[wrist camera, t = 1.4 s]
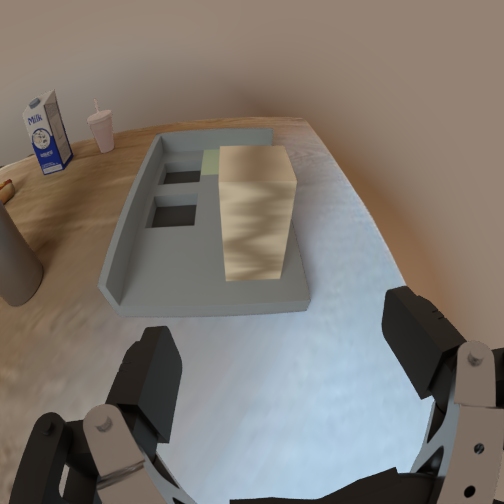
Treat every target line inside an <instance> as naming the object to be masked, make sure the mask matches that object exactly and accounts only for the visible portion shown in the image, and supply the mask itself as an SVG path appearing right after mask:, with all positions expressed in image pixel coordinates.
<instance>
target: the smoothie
mask: <svg viewBox="0 0 504 504" xmlns="http://www.w3.org/2000/svg"><path fill="white" fill-rule="evenodd" d="M94 101H95V106H96V110H97V113H95V114H93V115H91V116H90V117H88V119H87V123H88V124H89V125H90V128H91V130H92V132H93V135H94V137H95V140H96V142H97V144H98V146H99V149H100V151H101V153H106V152H109V151H111V150H113V149H114V139H113V130H112V119H111V116H112V111H111V110H104V111H100V112H99V109H98V104H97V100H96V98H94Z"/></svg>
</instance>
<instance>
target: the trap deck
mask: <svg viewBox="0 0 504 504" xmlns="http://www.w3.org/2000/svg"><path fill="white" fill-rule="evenodd" d="M272 138H273V128H221V129H202V130H189V131H177V132H168V133H159V134H156V136H155V138H154V140H153V142H152V144H151V146H150V148H149V150H148V152H147V154H146V156H145V158H144V160H143V163H142V165H141V167H140V169H139V171H138V174H137V176H136V178H135V180H134V183H133V185H132V187H131V190H130V192H129V194H128V197H127V199H126V202H125V204H124V207H123V209H122V212H121V215H120V217H119V220H118V223H117V225H116V228H115V231H114V234H113V237H112V240H111V243H110V246H109V249H108V252H107V255H106V258H105V261H104V265H103V268H102V271H101V275H100V278H99V282H98V288H99V289H100V291H101V292H102V293H103V295H104V296H105V298H106V299H107V300H108V302H109V303H110V304H111V306H112V307H113V308H114V310H115V311H116V312H117V314H118V315H119V316H125V317H209V316H237V315H256V314H273V313H287V312H299V311H306V310H307V308H308V305H309V303H310V300H311V299H310V294H309V290H308V285H307V281H306V277H305V272H304V268H303V264H302V260H301V255H300V251H299V247H298V243H297V239H296V235H295V231H294V227H293V223H292V219H291V221H290V227H289V233H288V238H287V244H286V250H285V255H284V260H283V266H282V271H281V276H280V279H264V280H243V281H226V276H225V265H224V253H223V240H222V227H221V213H220V198H219V157H220V146H250V145H272Z"/></svg>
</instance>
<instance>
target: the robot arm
mask: <svg viewBox="0 0 504 504" xmlns="http://www.w3.org/2000/svg"><path fill="white" fill-rule="evenodd" d="M42 275H43V268H42V265H41V262H40V261H39V260H38V258H37V257H36V256H35V254H34V253H33V251H32V250H31V248H30V247H29V245H28V244H27V242H26V241H25V239H24V238H23V236H22V235H21V233H20V232H19V230H18V229H17V227H16V225H15V224H14V222H13V220H12V219H11V217H10V215H9V214H8V212H7V210H6V209H5V207H4V205H3V203H2V201H1V199H0V296H1V297H2V298H3V299H4V300H5V301H6V302H7V303H8V304H9V305H11V306H19V305H21V304H23V303H25V302H26V301H28V300H29V299H30V298H31V297H32V296H33V294H34V293H35V292H36V290H37V288H38V286H39V284H40V282H41V279H42ZM382 332H383V336H384V338H385V340H386V341H387V343H388V344H389V346H390V348H391V349H392V351H393V352H394V354H395V356H396V357H397V359H398V361H399V362H400V364H401V366H402V367H403V369H404V371H405V372H406V374H407V376H408V378H409V379H410V381H411V383H412V384H413V386H414V388H415V390H416V391H417V393H418V395H419V397H420V399H421V400H422V399H424V398H427V397H429V396H431V395H432V396H433V398H434V399H435V400H434V402H433V404H432V408H431V412H430V417H429V421H428V425H427V429H426V433H425V437H424V440H423V444H422V447H421V450H420V452H419V454H418V456H417V457H416V459H415V461H414V463H413V466H412V468H411V470H410V473H398V472H397V469H396V467H394V468H391V469H388V470H386V471H383V472H380V473H377V474H375V475H372V476H369V477H365V478H362V479H359V480H357V481H355V482H353V483H351V484H349V485H347V486H345V487H343V488H341V489H339V490H337V491H335V492H333V493H331V494H329V495H327V496H324V497H322V498H319V499H313V500H312V499H288V498H275V497H268V498H256V499H235V500H230V504H504V502H502V501H498V500H495V499H494V495H495V491H496V487H497V482H498V477H499V471H500V466H501V459H502V452H503V450H504V348H499V349H494V350H490V348H489V347H488V346H487V345H485V344H483V343H481V342H478V341H468V342H467V341H466V340H465V339H464V337H463V336H462V335H461V334H460V333H459V332H458V331H457V329H456V328H455V327H454V326H453V325H452V324H451V323H450V322H449V321H448V320H447V318H444V315H443V314H442V313H441V312H440V311H438V309H437V308H436V307H435V306H434V305H433V304H432V303H431V302H430V301H429V300H427V299H425V298H423V297H421V296H416V295H415V294H414V293H413V292H412V291H411V289H409V287H407V286H402V287H398V288H394V289H390V290H387V292H386V295H385V302H384V310H383V317H382ZM181 374H182V360H181V357H180V354H179V352H178V349H177V347H176V345H175V342H174V340H173V338H172V335H171V333H170V330H169V328H168V327H167V326H157V327H147V328H146V329H145V330H144V333H143V335H142V337H141V340H140V341H136V342H135V343H134V344H133V345H132V346H131V347H130V348H129V349H128V350H127V352H126V354H125V356H124V358H123V361H122V364H121V365H120V368H119V372H117V375H116V377H115V380H114V382H113V385H112V387H111V390H110V392H109V395H108V397H107V400H106V402H105V404H102V405H99V406H96V407H94V408H93V409H91V410H90V411H89V412H88V413H87V415H86V416H85V418H84V420H78V421H71V422H65V421H64V420H63V419H62V417H61V416H60V415H58V414H57V413H54V412H49V413H46V414H44V415H42V416H41V417H40V418H39V419H38V420H37V421H36V423H35V425H34V427H33V430H32V432H31V435H30V437H29V440H28V442H27V445H26V448H25V450H24V453H23V456H22V459H21V462H20V465H19V468H18V471H17V474H16V478H15V481H14V485H13V488H12V492H11V496H10V500H9V504H102V503H103V504H197V503H196V502H195V501H194V500H193V499H192V498H191V497H190V496H189V495H188V494H187V493H186V492H185V491H184V489H183V488H182V487H181V486H180V484H179V483H178V482H177V480H176V479H175V477H174V476H173V475H172V473H171V472H170V470H169V469H168V467H167V466H166V465H165V463H164V462H163V460H162V458H161V457H160V455H159V454H158V453H157V451H156V449H157V443H169V441H170V434H171V428H172V423H173V417H174V411H175V406H176V400H177V395H178V390H179V385H180V379H181ZM65 464H66V465H67V466H68V467H70V468H69V472H68V476H67V480H66V485H65V489H64V494H63V497H61V495H60V493H59V484H60V480H61V476H62V472H63V468H64V465H65Z"/></svg>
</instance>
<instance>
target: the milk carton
mask: <svg viewBox="0 0 504 504" xmlns="http://www.w3.org/2000/svg"><path fill="white" fill-rule="evenodd" d="M22 115H23V118H24V121H25V125H26V128H27V130H28V133H29V137H30V139H31V142H32V145H33V148H34V151H35V153H36V156H37V158H38V161H39V163H40V166H41V168H42V171H43V173H44V175H46V174H50V173H53V172H57V171H61V170H64V169H65V167H66V166H67V164H68V163H69V162H70V160H71V159H72V157H73V153H72V150H71V147H70V144H69V141H68V138H67V135H66V131H65V128H64V125H63V121H62V118H61V114H60V110H59V106H58V102H57V98H56V94H55V90H51V91H49V92H46V93H44V94H42V95H40V96H37V97H35V98H34V99H33V100H32V101H31V102H30V103H29V105H28V106H27V108H26V109H25V111H24V112H23V114H22Z"/></svg>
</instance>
